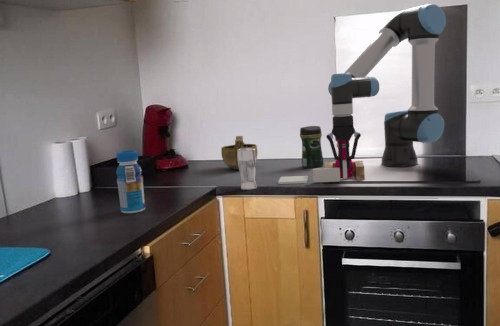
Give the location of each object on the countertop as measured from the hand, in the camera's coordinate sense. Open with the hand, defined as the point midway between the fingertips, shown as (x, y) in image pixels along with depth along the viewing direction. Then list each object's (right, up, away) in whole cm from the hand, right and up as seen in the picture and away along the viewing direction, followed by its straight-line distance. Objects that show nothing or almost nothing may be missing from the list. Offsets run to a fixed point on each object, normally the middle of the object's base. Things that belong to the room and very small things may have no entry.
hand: (345, 177), depth 186 cm
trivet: (-19, -1, +9) cm, 21 cm away
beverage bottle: (-75, -11, -22) cm, 79 cm away
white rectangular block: (-7, -1, +2) cm, 7 cm away
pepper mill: (+2, 0, +9) cm, 9 cm away
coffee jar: (-7, +4, +39) cm, 40 cm away
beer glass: (-36, -4, +1) cm, 37 cm away
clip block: (+2, 0, +9) cm, 9 cm away
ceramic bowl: (-40, +3, +47) cm, 62 cm away
